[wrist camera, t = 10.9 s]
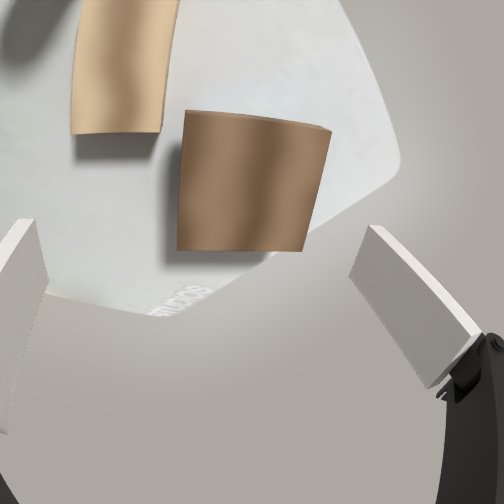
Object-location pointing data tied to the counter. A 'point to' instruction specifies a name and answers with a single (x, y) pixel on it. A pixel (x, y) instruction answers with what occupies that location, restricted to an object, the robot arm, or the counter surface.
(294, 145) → the lid
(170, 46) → the tan wooden block
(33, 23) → the counter surface
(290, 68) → the counter surface
